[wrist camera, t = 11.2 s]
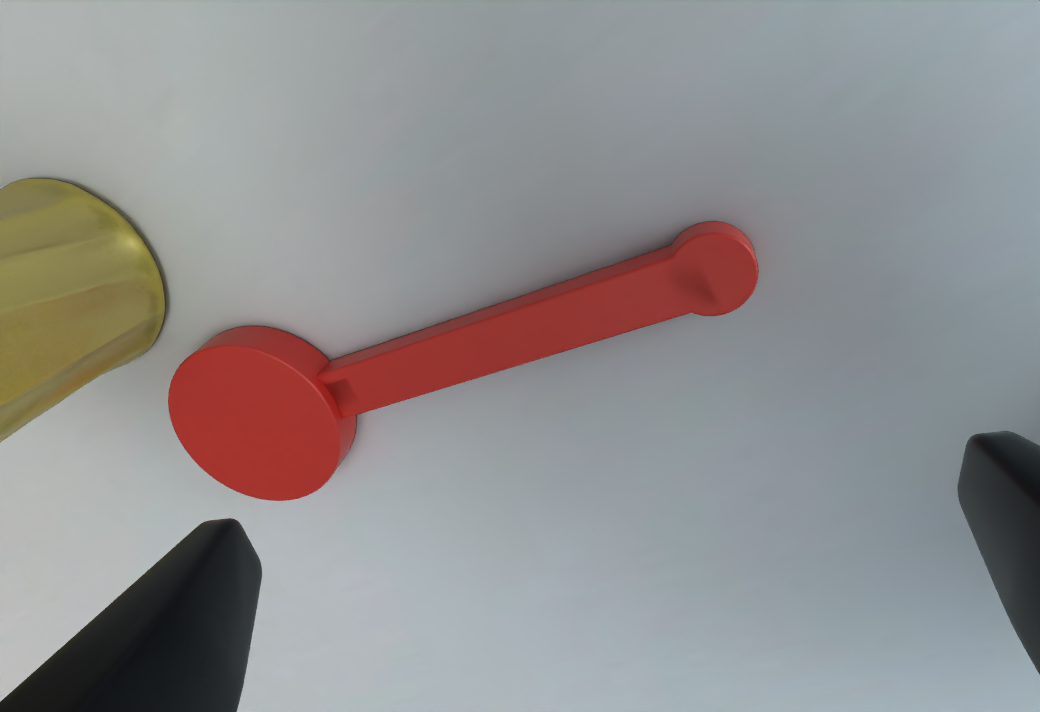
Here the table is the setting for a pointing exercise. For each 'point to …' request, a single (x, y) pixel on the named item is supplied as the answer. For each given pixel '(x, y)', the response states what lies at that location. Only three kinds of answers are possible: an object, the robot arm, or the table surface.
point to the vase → (68, 296)
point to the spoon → (423, 361)
